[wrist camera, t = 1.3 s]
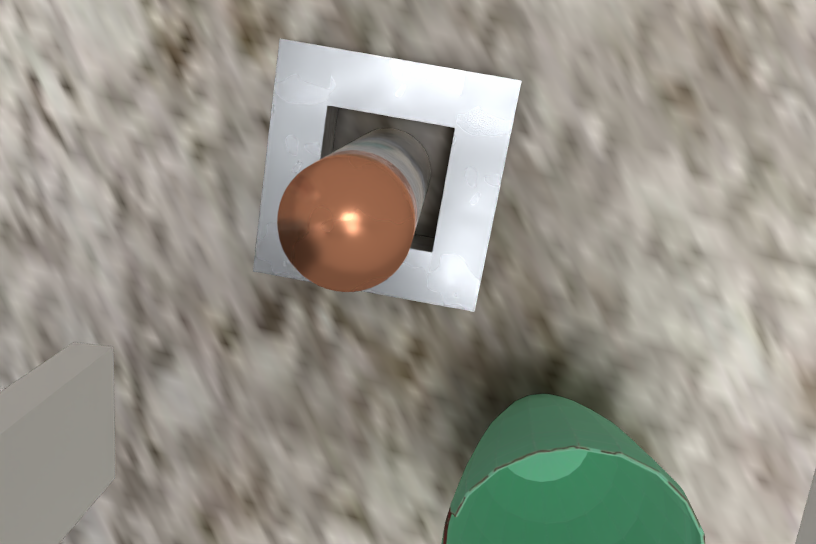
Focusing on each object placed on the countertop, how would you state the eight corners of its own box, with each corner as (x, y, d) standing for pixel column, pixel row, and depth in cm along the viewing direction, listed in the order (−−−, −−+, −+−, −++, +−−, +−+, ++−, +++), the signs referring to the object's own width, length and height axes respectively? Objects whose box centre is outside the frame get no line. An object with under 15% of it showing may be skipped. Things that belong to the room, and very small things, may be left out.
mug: (419, 377, 36) (405, 485, 26) (613, 322, 34) (673, 416, 25) (503, 615, 39) (518, 790, 29) (683, 574, 38) (760, 744, 28)
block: (270, 255, 35) (252, 271, 32) (295, 42, 32) (279, 38, 29) (473, 292, 35) (474, 311, 32) (515, 80, 32) (521, 80, 29)
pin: (339, 206, 34) (269, 278, 21) (351, 121, 33) (285, 145, 20) (422, 220, 34) (401, 302, 21) (437, 136, 33) (424, 170, 20)
